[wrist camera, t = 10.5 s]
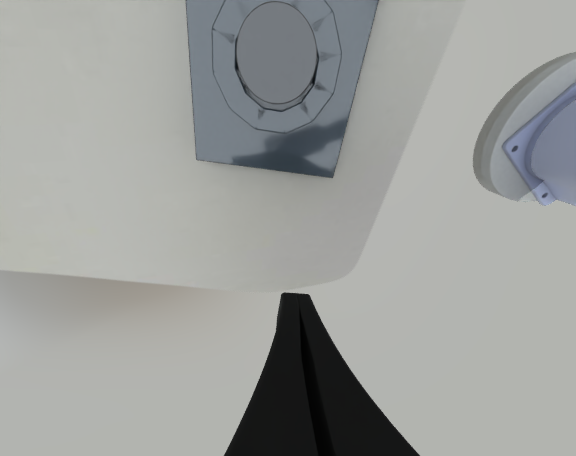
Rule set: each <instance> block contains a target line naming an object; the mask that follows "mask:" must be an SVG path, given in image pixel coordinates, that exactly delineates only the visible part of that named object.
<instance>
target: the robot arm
mask: <svg viewBox="0 0 576 456" xmlns="http://www.w3.org/2000/svg"><path fill="white" fill-rule="evenodd" d="M513 147H514V148H513ZM502 148H503V150H504V152H505V153H506V155H507V156H508V158H509V159H510V161H511V162H512V164H513V165H514V167H515V168H516V170H517V171H518V172H519V174H520V175H521V177H522V178H523V180H524V181H525V183H526V184H527V186H528V187H529V189H530V190H531V192H532V193H533V195H534V196H535V198H536V199H537V201H538V202H539V204H541V205H544V206H546V205H549V204H551V203H552V202H554V201H555V200H560V201H563V202H566V203H568V204H571V205H574V206H576V82H575V83H574V84H573V85H571V86H570V87H569V88H568V89H567V90H565V91H564V92H563V93H562V94H561V95H560V96H558V97H557V98H556V99H555V100H554V101H552V102H551V103H550V104H549V105H548V106H546V107H545V108H544V109H543V110H542V111H540V112H539V113H538V114H537V115H536V116H535V117H533V118H532V119H531V120H530V121H529V122H527V123H526V124H525V125H524V126H523V127H521V128H520V129H519V130H518V131H517V132H516V133H514V134H513V135H512V136H511V137H510V138H508V139H507V140H506V141H505V142H504V143H503V146H502ZM512 148H513V149H512ZM224 456H420V455H419V454H418V453H417V452H416V451H415V450H414V449H413V447H411V445H410V444H409V443H408V442H407V441H406V440H405V439H404V437H403V436H402V435H401V434H400V433H399V432H398V430H397V429H396V428H395V427H394V426H393V425H392V424H391V422H390V421H389V420H388V418H387V417H386V416H385V415H384V414H383V412H382V411H381V410H380V409H379V407H378V406H377V405H376V404H375V402H374V401H373V400H372V399H371V397H370V396H369V395H368V393H367V392H366V391H365V389H364V388H363V387H362V385H361V384H360V383H359V381H358V380H357V379H356V377H355V375H354V374H353V373H352V371H351V370H350V368H349V367H348V365H347V364H346V362H345V361H344V359H343V358H342V356H341V354H340V353H339V351H338V350H337V348H336V346H335V344H334V343H333V341H332V339H331V338H330V336H329V334H328V332H327V330H326V328H325V327H324V325H323V323H322V321H321V319H320V317H319V315H318V313H317V311H316V309H315V306H314V305H313V302H312V300H311V297H310V296H309V295H308V294H298V293H282V294H281V299H280V306H279V311H278V316H277V327H276V333H275V336H274V339H273V343H272V346H271V349H270V352H269V355H268V358H267V360H266V363H265V366H264V368H263V371H262V374H261V376H260V379H259V381H258V383H257V386H256V388H255V391H254V393H253V396H252V398H251V400H250V402H249V405H248V407H247V409H246V411H245V413H244V416H243V418H242V420H241V422H240V424H239V426H238V428H237V431H236V433H235V435H234V437H233V439H232V441H231V443H230V445H229V447H228V449H227V451H226V453H225V455H224Z"/></svg>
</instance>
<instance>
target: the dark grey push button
mask: <svg viewBox="0 0 576 456" xmlns="http://www.w3.org/2000/svg"><path fill="white" fill-rule="evenodd" d="M236 59H237V65H238V69H239V72H240V75H241V77H242V79H243V81H244V83H245V85H246V86H247V88H248V89H249V90H250V91H251V92H252V93H253V94H254V95H255V96H256V97H258V98H259V99H261V100H262V101H264V102H267V103H270V104H285V103H289V102H291V101H293V100H295V99H297V98H298V97H299V96H301V95H302V94H303V93H304V91H305V90H306V89H307V88H308V86H309V84H310V83H311V81H312V78H313V76H314V73H315V69H316V64H317V44H316V39H315V36H314V33H313V30H312V28H311V26H310V24H309V22H308V20H307V19H306V18H305V16H304V15H303V14H302V13H301V12H300V11H299V10H298V9H296V8H295V7H294V6H292V5H290V4H288V3H285V2H280V1H270V2H266V3H263V4H261V5H259V6H257V7H256V8H254V9H253V10H252V11H251V12H250V13H249V14H248V15H247V17H246V18H245V20H244V21H243V23H242V25H241V28H240V30H239V33H238V37H237V42H236Z"/></svg>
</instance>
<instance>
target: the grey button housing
mask: <svg viewBox="0 0 576 456" xmlns="http://www.w3.org/2000/svg"><path fill="white" fill-rule="evenodd" d="M270 1H280V2H285V3H288V4H290V5H292V6H294V7H295V8H296V9H298V10H299V11H300V12H301V13H302V14H303V15H304V16H305V18H306V19H307V20H308V22H309V24H310V26H311V28H312V30H313V33H314V36H315V39H316V44H317V64H316V69H315V73H314V76H313V78H312V81H311V83H310V84H309V86H308V88H307V89H306V90H305V91H304V93H303V94H302V95H301V96H299V97H298V98H297V99H295V100H293V101H291V102H289V103H285V104H270V103H267V102H264V101H262V100H261V99H259V98H258V97H256V96H255V95H254V94H253V93H252V92H251V91H250V90H249V89H248V88H247V86H246V85H245V83H244V81H243V79H242V77H241V75H240V72H239V69H238V65H237V59H236V42H237V37H238V33H239V30H240V28H241V25H242V23H243V21H244V20H245V18H246V17H247V15H248V14H249V13H250V12H251V11H252V10H253V9H254V8H256V7H257V6H259V5H261V4H263V3H266V2H270ZM378 1H379V0H186V14H187V28H188V43H189V58H190V73H191V88H192V103H193V118H194V132H195V147H196V160H201V161H209V162H216V163H224V164H231V165H239V166H246V167H254V168H261V169H269V170H276V171H283V172H291V173H298V174H306V175H313V176H321V177H328V178H333V176H334V172H335V168H336V164H337V161H338V157H339V153H340V149H341V145H342V141H343V137H344V133H345V129H346V126H347V122H348V118H349V114H350V110H351V106H352V102H353V98H354V95H355V91H356V87H357V83H358V79H359V75H360V71H361V67H362V63H363V60H364V56H365V52H366V48H367V44H368V40H369V36H370V32H371V29H372V25H373V21H374V17H375V13H376V9H377V5H378Z"/></svg>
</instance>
